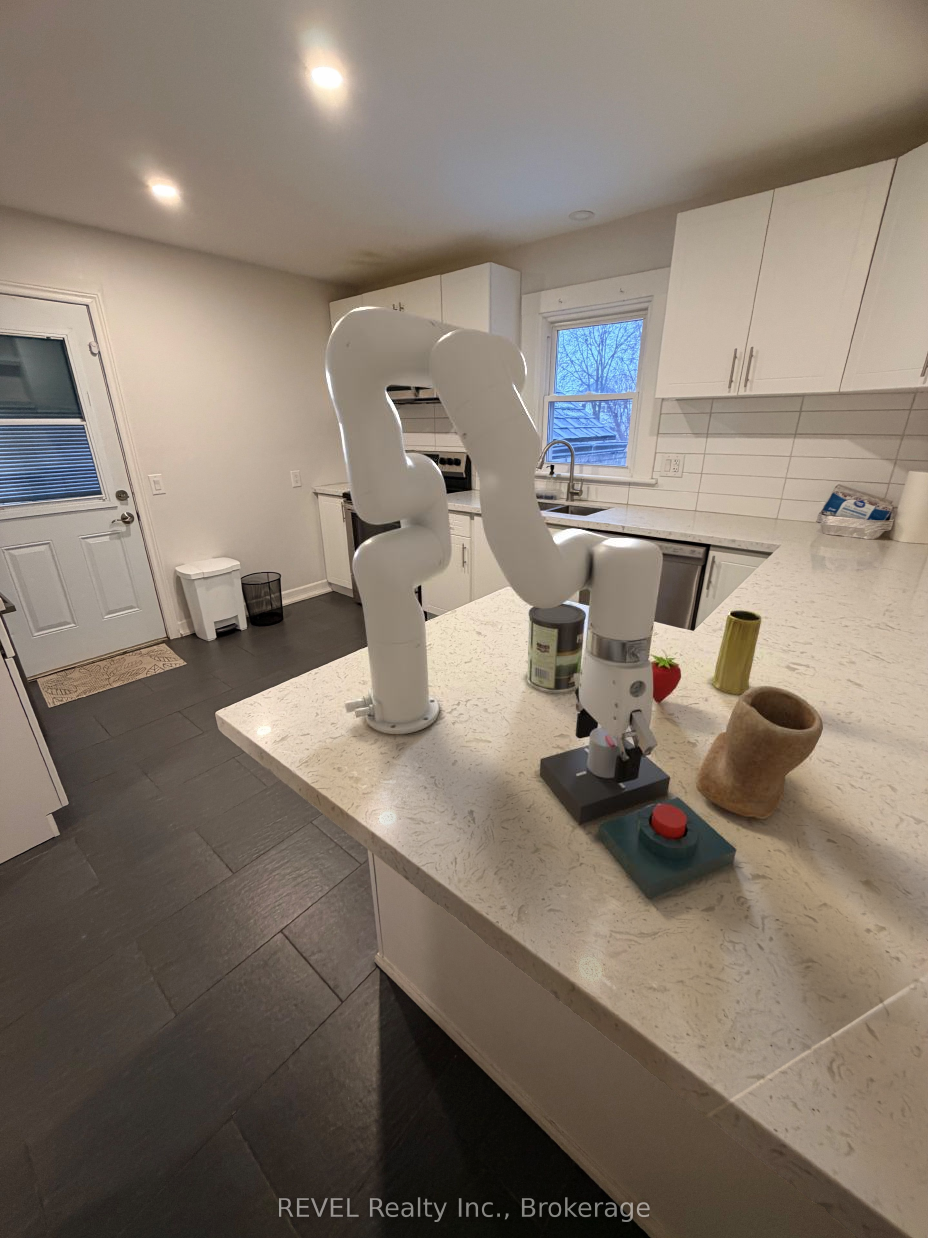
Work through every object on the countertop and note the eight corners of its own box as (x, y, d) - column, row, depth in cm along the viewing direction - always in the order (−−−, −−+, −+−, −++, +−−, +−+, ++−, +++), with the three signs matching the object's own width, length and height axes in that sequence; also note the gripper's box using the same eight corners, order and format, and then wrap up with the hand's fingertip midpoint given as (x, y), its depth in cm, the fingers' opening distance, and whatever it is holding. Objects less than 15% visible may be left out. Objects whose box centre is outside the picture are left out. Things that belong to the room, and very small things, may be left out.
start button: (666, 843, 55) (668, 831, 54) (644, 820, 58) (646, 809, 57) (691, 833, 56) (694, 822, 55) (668, 811, 59) (670, 800, 58)
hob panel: (579, 825, 62) (580, 806, 61) (539, 775, 70) (540, 757, 69) (667, 795, 67) (670, 776, 65) (620, 751, 75) (622, 734, 74)
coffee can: (579, 669, 99) (585, 603, 94) (580, 696, 90) (586, 625, 85) (528, 665, 101) (530, 600, 96) (523, 691, 92) (526, 621, 87)
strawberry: (630, 702, 88) (637, 651, 84) (654, 688, 92) (661, 639, 88) (660, 716, 84) (669, 664, 80) (684, 701, 88) (693, 650, 84)
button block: (648, 900, 52) (653, 872, 51) (597, 837, 60) (600, 812, 59) (733, 863, 56) (740, 837, 55) (675, 809, 64) (680, 785, 63)
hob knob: (582, 758, 69) (585, 726, 67) (613, 755, 70) (617, 724, 68) (593, 779, 65) (596, 746, 63) (625, 777, 66) (630, 744, 63)
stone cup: (787, 844, 59) (820, 739, 53) (684, 798, 66) (703, 702, 60) (806, 776, 69) (836, 683, 64) (716, 743, 76) (735, 657, 71)
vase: (747, 681, 94) (763, 611, 88) (749, 697, 89) (766, 624, 83) (711, 675, 96) (725, 607, 91) (711, 690, 91) (725, 619, 85)
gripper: (693, 669, 53) (670, 793, 60) (606, 613, 69) (595, 717, 75) (633, 680, 51) (616, 808, 58) (557, 619, 67) (550, 726, 73)
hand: (604, 756), depth 67 cm, fingers open, 9 cm apart
